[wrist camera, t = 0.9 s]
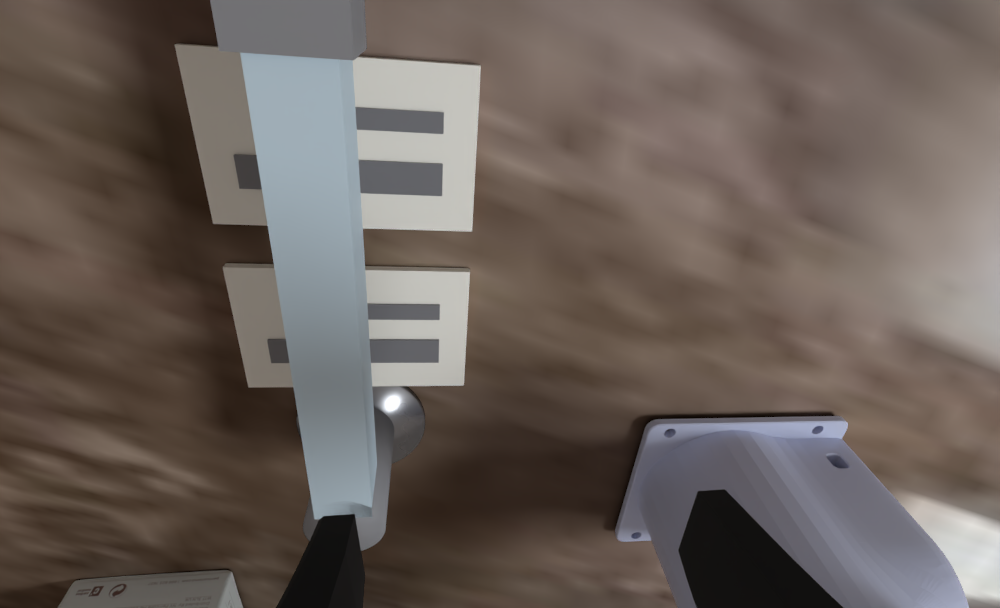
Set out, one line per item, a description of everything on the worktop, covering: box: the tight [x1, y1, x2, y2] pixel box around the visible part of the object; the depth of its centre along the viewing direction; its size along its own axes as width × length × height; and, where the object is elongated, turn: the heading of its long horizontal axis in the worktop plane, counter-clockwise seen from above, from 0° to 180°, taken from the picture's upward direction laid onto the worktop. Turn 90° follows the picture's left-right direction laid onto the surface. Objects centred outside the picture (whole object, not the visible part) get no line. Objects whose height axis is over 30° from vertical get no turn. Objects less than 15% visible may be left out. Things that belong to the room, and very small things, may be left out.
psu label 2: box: [223, 263, 470, 387], centre depth 19 cm, size 8×5×1 cm, turn 86°
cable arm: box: [210, 0, 394, 551], centre depth 15 cm, size 16×3×5 cm, turn 176°
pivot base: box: [297, 380, 425, 463], centre depth 21 cm, size 5×5×1 cm
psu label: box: [174, 43, 481, 232], centre depth 16 cm, size 8×5×1 cm, turn 86°
